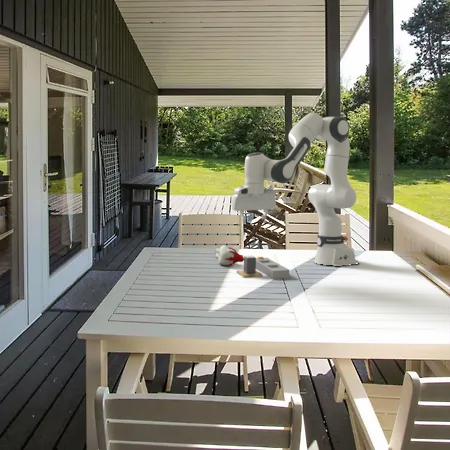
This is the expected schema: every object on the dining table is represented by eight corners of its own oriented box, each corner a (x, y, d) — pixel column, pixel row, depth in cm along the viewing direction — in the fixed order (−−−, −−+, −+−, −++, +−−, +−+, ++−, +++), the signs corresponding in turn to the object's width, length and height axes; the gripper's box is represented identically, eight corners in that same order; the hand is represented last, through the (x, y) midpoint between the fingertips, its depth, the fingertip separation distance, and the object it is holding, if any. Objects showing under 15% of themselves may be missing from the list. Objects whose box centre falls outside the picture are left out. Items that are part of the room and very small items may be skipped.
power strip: (262, 262, 270) (262, 253, 269) (289, 278, 240) (289, 268, 239) (247, 263, 267) (247, 254, 266) (272, 279, 237) (272, 269, 236)
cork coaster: (255, 271, 250) (255, 269, 250) (262, 276, 242) (262, 274, 241) (236, 272, 247) (236, 270, 247) (243, 277, 239) (243, 275, 239)
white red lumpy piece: (213, 260, 269) (243, 265, 268) (210, 265, 258) (241, 270, 257) (216, 243, 268) (246, 247, 267) (213, 247, 257) (244, 252, 256)
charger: (252, 271, 247) (252, 255, 246) (255, 273, 243) (256, 257, 242) (243, 271, 246) (243, 255, 244) (246, 273, 242) (247, 257, 240)
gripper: (272, 187, 248) (272, 217, 250) (230, 189, 241) (230, 219, 244) (278, 189, 242) (278, 219, 244) (235, 190, 235) (235, 222, 238)
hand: (253, 219), depth 244 cm, fingers open, 8 cm apart
